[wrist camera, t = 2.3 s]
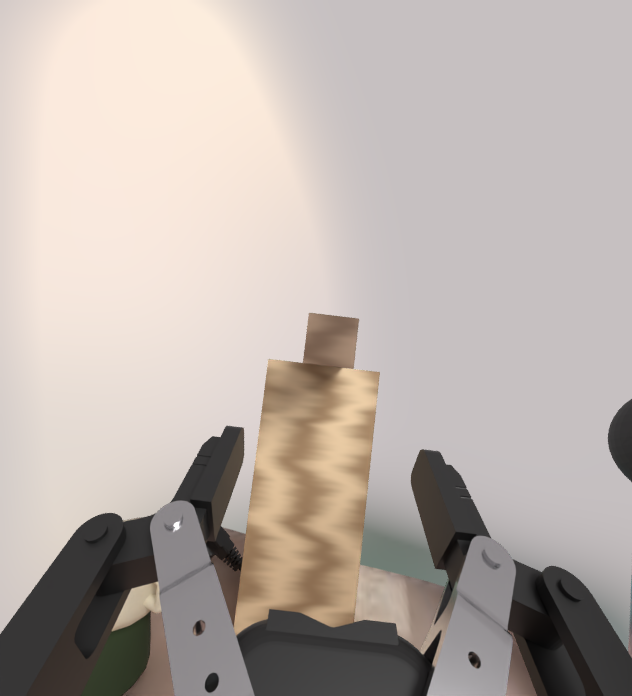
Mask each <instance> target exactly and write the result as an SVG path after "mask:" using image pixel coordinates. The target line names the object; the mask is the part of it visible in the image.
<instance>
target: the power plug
mask: <svg viewBox="0 0 632 696" xmlns="http://www.w3.org/2000/svg"><path fill="white" fill-rule="evenodd" d="M229 537H230V536H229V535H228V534H227V532H226V531H225V530H224V529H223V528H222V527H221V526H220V529H219V532H218V535H217V538H216V540H215V542H212V541H207V542H206V547H207V551H208V554H209V557H210V559H211V558H212V557H213V556H214V555H216V556H217V557H218V558H219V559H221V560H223V559H224V558H225V560H224V561H223V562H224V563H225V562H226V561H228V562H227V565H229V564H230V563H231V565H230V566H229V567H232V566H233V570H234V571H237V570H238V569H239V570H240V571H241V568H242V560H243V558H242V557H241V558H240V556H241V555H240V554H239V555H237V554H238V552H239V551H238V550H237V551H236V552H235V550H236V549H237V548H236V547H235V548H234V549H233V547H234V543H233V542H232V541H231V540H230V538H229Z"/></svg>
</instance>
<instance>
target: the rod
mask: <svg viewBox="0 0 632 696" xmlns="http://www.w3.org/2000/svg"><path fill="white" fill-rule="evenodd" d="M358 323H359V319H356V318H349V317H340V316H332V315H324V314H315V313H309V318H308V326H307V334H306V343H305V350H304V359H303V363H306V364H314V365H323V366H331V367H340V368H350V369H353V368H354V360H355V350H356V342H357V332H358Z"/></svg>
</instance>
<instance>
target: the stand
mask: <svg viewBox="0 0 632 696" xmlns="http://www.w3.org/2000/svg"><path fill="white" fill-rule="evenodd" d="M379 375H380V373H379V372H372V371H364V370H356V369H348V368H340V367H331V366H323V365H314V364H306V363H298V362H289V361H281V360H272V359H269V360H268V367H267V375H266V383H265V390H264V398H263V406H262V413H261V421H260V429H259V436H258V444H257V452H256V460H255V467H254V475H253V483H252V491H251V498H250V506H249V514H248V521H247V530H246V537H245V544H244V552H243V560H242V568H241V575H240V583H239V591H238V599H237V606H236V614H235V622H234V631H235V634H236V635H237V634H239V633H240V632H241V631H242V630H244V629H245V628H247V627H248V626H250V625H252V624H254V623H256V622H259V621H262V620H265V619H268V614H269V609H275V610H283V611H292V612H300V613H302V614H305V615H307V616H309V617H311V618H313V619H315V620H317V621H319V622H321V623H323V624H326V625H328V626H330V627H338V626H342V625H346V624H350V623H354V615H355V605H356V595H357V586H358V576H359V567H360V557H361V546H362V538H363V528H364V519H365V509H366V499H367V490H368V480H369V470H370V461H371V452H372V442H373V432H374V423H375V413H376V403H377V394H378V384H379Z"/></svg>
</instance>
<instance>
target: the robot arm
mask: <svg viewBox="0 0 632 696" xmlns="http://www.w3.org/2000/svg"><path fill="white" fill-rule="evenodd" d="M608 444H609V449H610V452H611V455H612V458H613V460H614V461H615V463H616V465H617V466H618V468H619V469H620V470H621V471H622V473H623V474H624V475H625V476H626V477H627V478H628V479H629V480H631V482H632V399H631V400H630V401H628V402H627V403H626V404H624V405H623V406H622V408H620V409H619V410H618V412H617V414H616V415H615V416H614V418H613V420H612V422H611V425H610V428H609V433H608ZM243 458H244V428H242V427H232V426H226V427H225V429H224V431H223V433H222V435H221V437H214V436H213V437H211V438H210V439H209V440H208V441H207V442H205V443H204V444H203V445H202V447H201V449H200V451H199V453H198V454H197V457H196V458H195V460H194V462H193V464H192V466H191V467H190V469H189V471H188V473H187V474H186V476H185V478H184V480H183V482H182V484H181V485H180V487H179V489H178V491H177V493H176V495H175V497H174V498H173V500H172V501H171V502H170V503H169V504H167V505H165V506H163V507H162V508H161V509H160V510H159V511H158V512H157V513H156V514H154V515H151V516H148V517H143V518H138V519H133V520H128V521H123V520H122V518H121V517H120V516H119V515H117V514H114V513H105V514H101V515H98V516H95V517H93V518H91V519H90V520H88V521H87V522H85V523H84V524H83V525H81V526H80V527H79V528H78V529H77V530H76V532H75V533H74V534H73V536H72V537H71V538H70V540H69V541H68V542H67V544H66V545H65V547H64V548H63V549H62V551H61V552H60V554H59V555H58V556H57V557H56V559H55V560H54V562H53V563H52V564H51V566H50V567H49V569H48V570H47V571H46V572H45V574H44V575H43V577H42V578H41V579H40V581H39V582H38V584H37V585H36V586H35V587H34V589H33V590H32V592H31V593H30V594H29V596H28V597H27V598H26V600H25V601H24V603H23V604H22V605H21V607H20V608H19V609H18V611H17V612H16V614H15V615H14V616H13V618H12V619H11V620H10V622H9V623H8V624H7V626H6V627H5V629H4V630H3V631H2V633H1V634H0V696H81V694H82V692H83V690H84V688H85V686H86V684H87V682H88V680H89V678H90V675H91V673H92V671H93V669H94V667H95V665H96V663H97V661H98V659H99V656H100V654H101V652H102V650H103V648H104V646H105V644H106V642H107V640H108V637H109V635H110V633H111V631H112V629H113V627H114V625H115V623H116V621H117V619H118V616H119V614H120V612H121V610H122V608H123V606H124V604H125V602H126V600H127V597H128V595H129V593H130V591H131V589H132V588H136V587H140V586H144V585H147V584H151V583H155V582H158V583H159V590H160V593H159V597H160V605H161V611H162V618H163V624H164V631H165V637H166V643H167V650H168V656H169V663H170V669H171V676H172V682H173V689H174V695H175V696H506V690H507V683H508V675H509V668H510V661H511V653H512V645H513V639H512V635H511V634H510V633H509V632H508V630H510V631H512V632H513V633H514V636H515V639H516V641H517V644H518V646H519V649H520V652H521V654H522V657H523V659H524V662H525V664H526V667H527V670H528V672H529V675H530V677H531V680H532V683H533V685H534V688H535V690H536V693H537V696H632V579H631V603H630V624H629V645H628V651H627V650H626V648H625V647H624V645H623V643H622V642H621V640H620V639H619V637H618V635H617V634H616V632H615V631H614V629H613V628H612V626H611V624H610V623H609V621H608V619H607V618H606V616H605V615H604V613H603V612H602V610H601V608H600V607H599V605H598V604H597V602H596V600H595V599H594V597H593V596H592V594H591V593H590V592H589V590H588V589H587V588H586V586H584V584H583V583H582V582H581V581H580V580H579V579H577V578H576V577H575V576H574V575H572V574H571V573H569V572H568V571H566V570H564V569H562V568H559V567H556V566H549V567H547V568H545V569H544V571H543V572H540V571H538V570H535V569H533V568H531V567H528V566H526V565H524V564H522V563H519V562H517V561H515V560H513V559H512V557H511V556H510V554H509V553H508V552H507V550H506V549H505V548H504V547H503V546H502V545H500V544H499V543H497V542H496V541H495V540H493V539H491V537H490V535H489V533H488V531H487V529H486V527H485V525H484V523H483V521H482V519H481V516H480V514H479V512H478V510H477V508H476V506H475V504H474V502H473V500H472V499H471V496H470V494H469V492H468V490H467V489H466V485H465V483H464V481H463V480H462V478H461V476H460V475H459V473H458V472H457V471H456V470H455V469H454V468H453V467H452V466H451V465H446V464H445V462H444V459H443V457H442V455H441V453H440V452H438V451H431V450H420V452H419V454H418V457H417V460H416V462H415V465H414V468H413V471H412V474H411V485H412V490H413V493H414V496H415V500H416V504H417V507H418V510H419V514H420V517H421V521H422V524H423V528H424V531H425V535H426V538H427V542H428V545H429V549H430V552H431V555H432V559H433V563H434V566H435V568H436V569H442V570H446V571H447V575H448V578H449V579H448V580H447V582H446V585H445V588H444V591H443V594H442V596H441V599H440V602H439V605H438V608H437V611H436V613H435V616H434V619H433V622H432V625H431V628H430V630H429V633H428V635H427V637H426V639H425V641H424V643H423V646H422V648H421V650H420V651H419V650H418V649H417V648H415V647H414V646H413V645H412V644H411V643H409V642H408V641H406V640H405V639H403V638H402V637H400V636H398V635H397V629H396V624H395V623H386V622H378V621H369V620H363V621H358V622H354V623H350V624H346V625H342V626H338V627H330V626H328V625H326V624H323V623H321V622H319V621H317V620H315V619H313V618H311V617H309V616H307V615H305V614H302V613H300V612H292V611H283V610H275V609H269V614H268V619H265V620H262V621H259V622H256V623H254V624H252V625H250V626H248V627H247V628H245V629H244V630H242V631H241V632H240V633H239V634H237V635H236V634H235V631H234V628H233V624H232V621H231V618H230V615H229V611H228V608H227V605H226V602H225V599H224V595H223V592H222V589H221V586H220V582H219V579H218V576H217V573H216V570H215V567H214V564H213V563H212V562H211V560H210V557H209V554H208V551H207V547H206V542H207V541H212V542H215V540H216V538H217V535H218V532H219V529H220V526H221V523H222V520H223V517H224V515H225V512H226V509H227V506H228V503H229V501H230V498H231V495H232V492H233V489H234V486H235V483H236V481H237V478H238V475H239V472H240V469H241V466H242V463H243Z"/></svg>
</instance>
